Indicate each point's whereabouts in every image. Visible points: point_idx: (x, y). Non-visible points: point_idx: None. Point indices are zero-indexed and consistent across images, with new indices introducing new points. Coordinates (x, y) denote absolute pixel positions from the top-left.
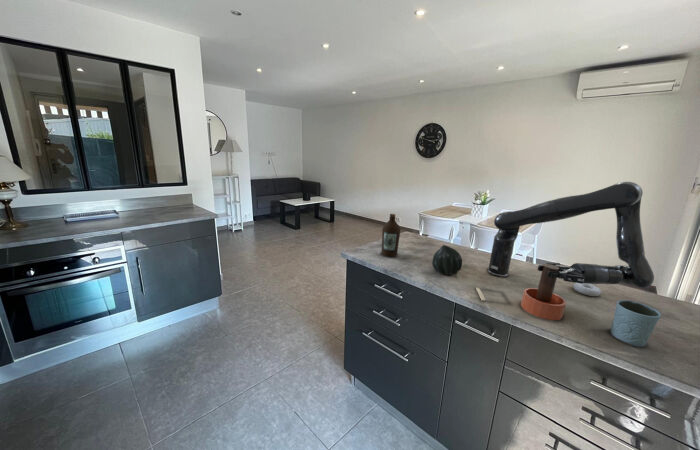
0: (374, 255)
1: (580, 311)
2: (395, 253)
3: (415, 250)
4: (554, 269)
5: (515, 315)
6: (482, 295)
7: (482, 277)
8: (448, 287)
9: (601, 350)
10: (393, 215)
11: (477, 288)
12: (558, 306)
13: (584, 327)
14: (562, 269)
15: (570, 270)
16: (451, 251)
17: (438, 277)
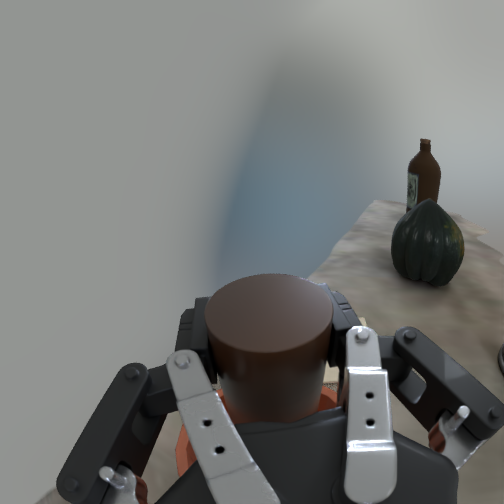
0: (396, 212)
1: None
2: None
3: (478, 241)
4: (205, 308)
5: (218, 378)
6: None
7: (459, 335)
8: (332, 277)
9: (56, 490)
10: (422, 140)
11: (361, 319)
12: (178, 461)
13: None
14: (298, 422)
15: (213, 458)
16: (423, 214)
17: (376, 265)
